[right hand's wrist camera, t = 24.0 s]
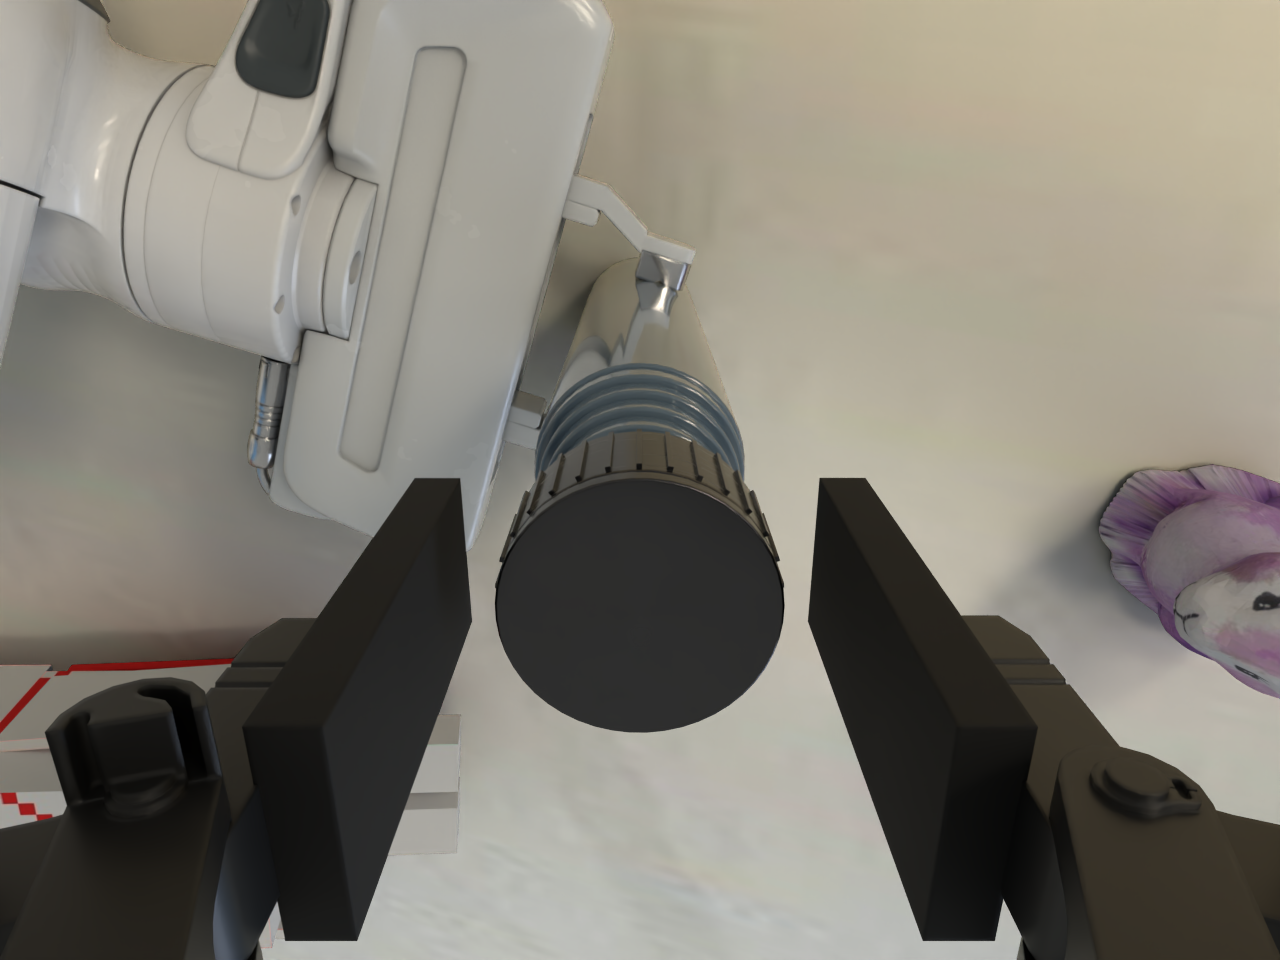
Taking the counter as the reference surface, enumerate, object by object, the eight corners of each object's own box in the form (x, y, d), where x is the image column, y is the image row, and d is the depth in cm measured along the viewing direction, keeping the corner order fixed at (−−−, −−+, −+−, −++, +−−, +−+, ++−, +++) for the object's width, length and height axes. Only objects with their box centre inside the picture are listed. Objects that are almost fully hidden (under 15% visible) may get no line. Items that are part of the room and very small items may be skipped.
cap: (795, 618, 15) (820, 694, 13) (563, 684, 16) (551, 766, 14) (727, 392, 14) (743, 435, 12) (472, 472, 14) (444, 527, 12)
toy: (449, 980, 37) (-352, 1031, 32) (465, 773, 50) (-114, 788, 45) (452, 755, 33) (-470, 774, 28) (468, 590, 45) (-171, 583, 41)
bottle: (714, 314, 37) (846, 595, 13) (637, 384, 38) (633, 759, 14) (642, 234, 35) (647, 388, 12) (564, 309, 36) (432, 583, 13)
